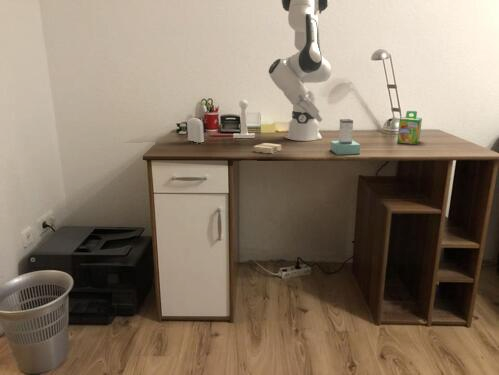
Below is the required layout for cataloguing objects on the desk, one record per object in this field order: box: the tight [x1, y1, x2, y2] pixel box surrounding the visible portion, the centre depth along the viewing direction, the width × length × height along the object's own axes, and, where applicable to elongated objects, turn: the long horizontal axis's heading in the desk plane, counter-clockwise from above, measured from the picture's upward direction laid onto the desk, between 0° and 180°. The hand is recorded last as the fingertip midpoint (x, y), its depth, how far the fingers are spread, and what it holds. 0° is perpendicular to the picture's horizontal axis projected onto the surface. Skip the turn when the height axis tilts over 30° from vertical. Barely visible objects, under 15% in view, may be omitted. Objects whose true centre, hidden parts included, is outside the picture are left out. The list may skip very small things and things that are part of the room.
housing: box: [338, 118, 354, 144], centre depth 186 cm, size 4×4×10 cm
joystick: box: [233, 99, 256, 139], centre depth 222 cm, size 11×8×20 cm
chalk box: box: [396, 110, 423, 145], centre depth 204 cm, size 9×9×15 cm
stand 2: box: [330, 139, 361, 155], centre depth 188 cm, size 10×10×4 cm
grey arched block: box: [186, 117, 205, 142], centre depth 214 cm, size 10×4×12 cm, turn 39°
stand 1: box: [253, 142, 282, 154], centre depth 193 cm, size 9×9×2 cm
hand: (317, 118), depth 183 cm, fingers open, 8 cm apart
